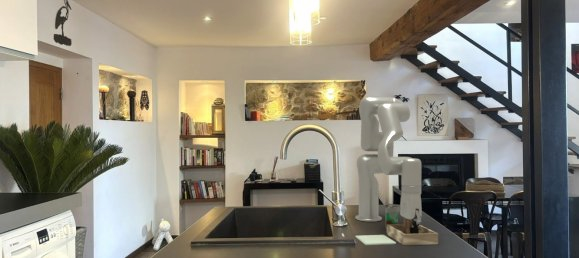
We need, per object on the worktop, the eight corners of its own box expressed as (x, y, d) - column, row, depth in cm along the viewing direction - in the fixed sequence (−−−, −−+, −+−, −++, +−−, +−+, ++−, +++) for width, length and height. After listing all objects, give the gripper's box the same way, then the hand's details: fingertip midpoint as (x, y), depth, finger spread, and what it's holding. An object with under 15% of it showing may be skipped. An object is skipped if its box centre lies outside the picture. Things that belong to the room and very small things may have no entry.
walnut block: (403, 237, 162) (403, 217, 162) (413, 237, 162) (414, 217, 162) (408, 240, 157) (408, 220, 157) (419, 240, 158) (419, 219, 158)
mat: (355, 237, 162) (355, 235, 162) (383, 236, 164) (383, 234, 164) (365, 245, 151) (365, 243, 151) (395, 243, 152) (395, 242, 152)
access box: (386, 234, 167) (386, 224, 167) (417, 233, 169) (417, 223, 169) (404, 245, 150) (404, 234, 150) (438, 244, 152) (438, 233, 153)
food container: (401, 232, 171) (401, 208, 171) (386, 231, 172) (386, 207, 172) (399, 225, 183) (399, 203, 183) (385, 225, 184) (385, 203, 184)
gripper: (393, 186, 168) (393, 231, 168) (412, 192, 151) (411, 241, 151) (410, 186, 169) (410, 230, 169) (430, 192, 152) (430, 241, 152)
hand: (411, 235), depth 160 cm, fingers closed on walnut block, 4 cm apart
